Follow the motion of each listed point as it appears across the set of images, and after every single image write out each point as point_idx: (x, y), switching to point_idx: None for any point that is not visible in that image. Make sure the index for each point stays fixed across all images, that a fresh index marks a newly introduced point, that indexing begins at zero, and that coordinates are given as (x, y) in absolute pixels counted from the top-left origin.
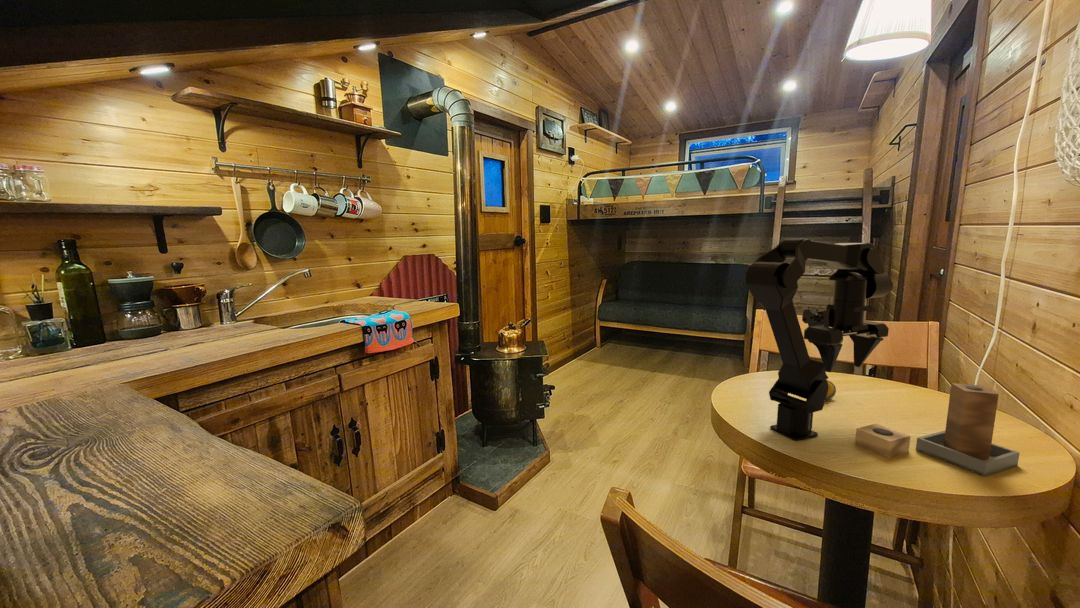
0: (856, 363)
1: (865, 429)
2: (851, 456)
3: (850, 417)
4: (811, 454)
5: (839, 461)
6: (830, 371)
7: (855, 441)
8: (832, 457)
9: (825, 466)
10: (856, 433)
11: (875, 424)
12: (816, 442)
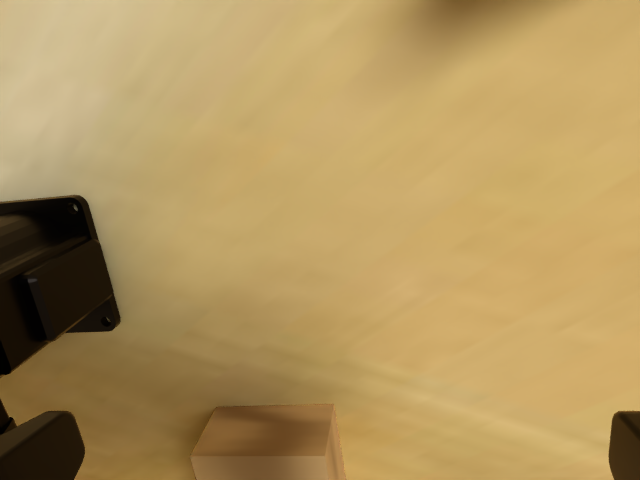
0: (632, 471)
1: (218, 474)
2: (128, 455)
3: (454, 218)
4: (9, 406)
5: None
6: (69, 463)
7: (212, 414)
8: None
9: None
10: (199, 441)
11: (310, 461)
12: (81, 355)
